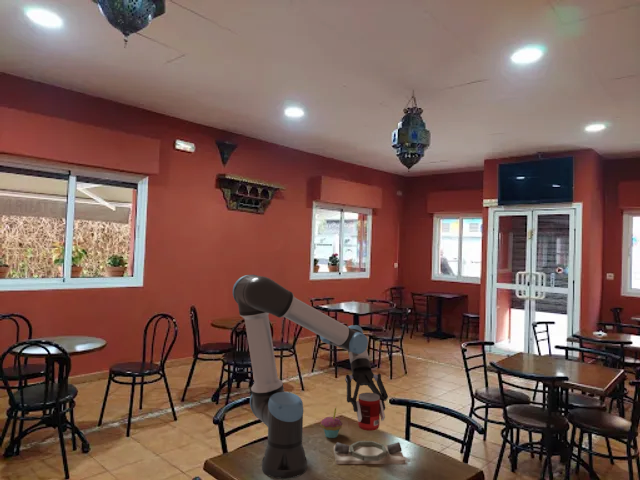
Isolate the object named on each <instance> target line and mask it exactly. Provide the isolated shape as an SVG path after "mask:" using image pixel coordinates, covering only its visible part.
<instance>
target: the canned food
mask: <svg viewBox="0 0 640 480" xmlns="http://www.w3.org/2000/svg"><path fill="white" fill-rule="evenodd" d="M357 401H359V405H360V410H361V416H362V420H361V422H358V421H357V424H358V427H359V429H361V430H363V431H377V430H378V429H379V427H380V421H381V417H380V396H379V395H378V394H375V393H373V392H362V393H360V394H359V393H358V400H357Z"/></svg>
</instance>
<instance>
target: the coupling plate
mask: <svg viewBox="0 0 640 480" xmlns="http://www.w3.org/2000/svg"><path fill="white" fill-rule="evenodd" d="M402 452H403V450H402V446H401V443H400V442H399V441H397V442H395V443H391V444H385V445H384V444H382V443H380V442H376V441H374V440H357V441H355V442H354V443H351V444H345V443H341V442H338V441H337V442H336V443H335V444H334V445H333V455H334V459H335V463H336V465H382V464H383V465H398V464H399V465H400V464H401V465H403V464H404V465H406V459H405V456H404V455H403V453H402Z"/></svg>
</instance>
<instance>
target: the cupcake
mask: <svg viewBox="0 0 640 480" xmlns="http://www.w3.org/2000/svg"><path fill="white" fill-rule="evenodd" d="M336 413H337V407H334V411H333V416H327V417H325V418H322V420H321V421H320V427H321V428H322V429H323V431H324V435H325V437H326V438H329V439H335V438H337V437H338V435H339V432H340V430H341V429H342V427H343V422H342V421H341V419H339V418H338V417H336Z"/></svg>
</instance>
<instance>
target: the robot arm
mask: <svg viewBox="0 0 640 480" xmlns="http://www.w3.org/2000/svg"><path fill="white" fill-rule="evenodd" d="M232 297H233V299H234V302H235V303H236V304H237V306H238V314H239V316H240V317H241V318H242V319H244V325H245V330H246V337H247V342H248V350H249V356H250V364H251V369H252V375H253V384H252V386H251V387H250V389H251V395H250V397H249V407H250V410H251V411H252V414H253V415H254V416H255V417H256V418H257V419H259V420H260V421H261V422H262V423H263V424H264V425H265V426H266V427H267V445H266V448H265V452H264V456H263V457H262V461H261V471H262V472H263V473H264V474H265V475H267V476H269V477H271V478H274V479H275V478H276V479H292V478H297V477H299V476H301V475H303V474H304V473H305V472H306V471H307V469H308V460H307V456H306V453H305V450H304V446H303V432H304V431H303V426H304V424H303V423H304V403H303V400H302V398H301V397H300V395H297V394H295V393H291V392H288V391H285V389H284V382H283V380H282V379H280V378H279V377H278V370H277V364H276V363H277V362H276V358H275V357H276V356H275V350H274V345H273V337H272V331H271V325H270V319H269V318H270V317H269V315H273V316H275V317H277V318H280V319H281V318H285V319H288V320H289V321H291V322H293V323H294V324H297V325H298V326H300V327H303V328H304V329H307V330H309V331H310V332H312V333H314V334H315V335H318V336H319V338H320V341H321V342H322V343H325V344H327V345H332V346H335V347H337V348H339V349H342V350H346V351H347V353H348V354H347V355H348V356H349V357H348V358H349V363H350V368H351V374H346V375H345V378H344V380H345V383H346V402H347V403H351V405H352V408H353V411H354V413H356V417H357V423H358V422H361V420H362V416H361V410H360V405H359V401H358V400H357V398H358V396H359V391H360V390H359V389H360V387H362V386H367V387H368V388H369V389H370V390H371V393H375V394H378V395H379V396H380V421H381V422H383V421H385V418H386V415H385V410H386V405H385V402H386V401H387V400H388V398H389V396H388V393H387V390H386V387H385V386H384V384H383V381H382V374H381V373H377V374H375V373H374V372H373V371H372V366H371V365H372V364H371V362H370V361H371V360H370V356H369V353H368V346H369V339H368V337H367V335H365V334H364V331H363V328H362V327H361V326H360V325H357V324H355V325H353V324H351V325H349V326H347V325H345V324H344V323H341V322H340V321H338V320H336V319H334V318H333V317H331V316H329V315H327V314H326V313H323V312H322V311H320V310H318V309H316V308H315V307H313V306H311V305H309V304H307V303H306V302H304V301H302V300H300V299H298V298H297V297H295V296H294V293H293V292H292V291H290V290H288V289H287V288H286V287H284V286H282V285H281V284H279V283H278V282H276V281H275V280H273V279H271V278H269V277H267V276H264V275H262V276H261V275H257V274H246V275H243V276H241V277H239V278H238V279H237V280H236V281H235V283H234V284H233V287H232ZM373 379H374V380H375V382H376V384H375V382H374V380H373ZM352 380H354V382H355V386H354V387H355V389H354V393H353V397H352ZM376 385H377V386H376Z"/></svg>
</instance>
